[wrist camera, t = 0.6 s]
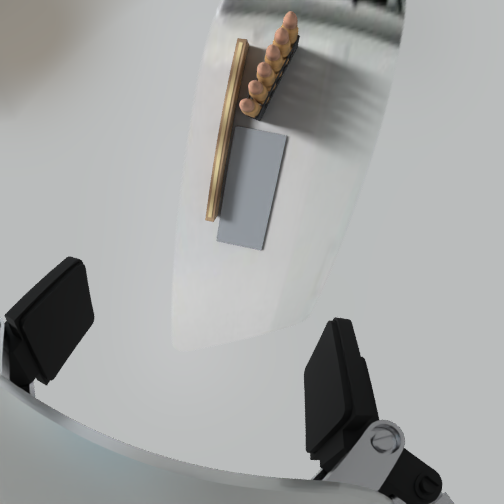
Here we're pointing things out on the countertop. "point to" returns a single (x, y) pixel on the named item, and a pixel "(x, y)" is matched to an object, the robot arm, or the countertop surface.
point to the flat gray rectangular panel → (250, 186)
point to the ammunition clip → (272, 68)
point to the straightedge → (226, 128)
